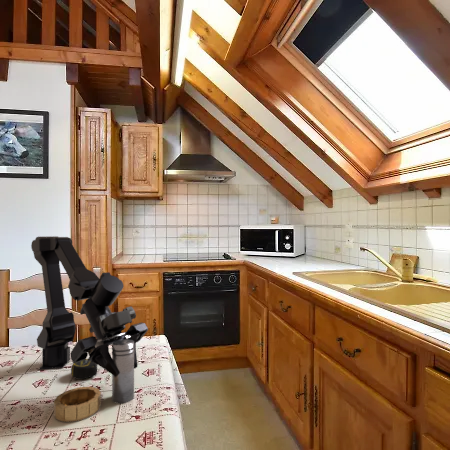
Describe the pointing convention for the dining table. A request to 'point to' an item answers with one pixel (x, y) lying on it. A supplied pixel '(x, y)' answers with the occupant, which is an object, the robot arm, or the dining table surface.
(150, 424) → the dining table surface
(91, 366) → the tape measure
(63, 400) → the ring collar
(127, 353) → the grey metal cylinder
